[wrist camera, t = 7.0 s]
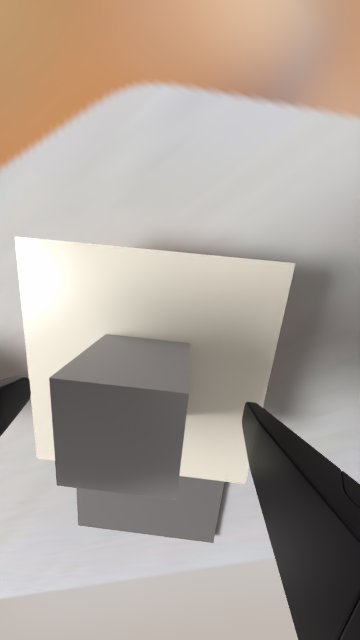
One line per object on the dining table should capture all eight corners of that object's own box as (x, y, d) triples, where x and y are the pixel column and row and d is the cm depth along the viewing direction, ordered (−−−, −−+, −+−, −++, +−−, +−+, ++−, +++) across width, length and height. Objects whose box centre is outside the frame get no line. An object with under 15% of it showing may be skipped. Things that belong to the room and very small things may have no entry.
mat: (233, 422, 17) (234, 428, 16) (212, 534, 20) (213, 542, 19) (77, 404, 17) (73, 409, 16) (81, 517, 20) (78, 525, 20)
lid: (286, 263, 9) (384, 258, 5) (242, 470, 12) (273, 594, 8) (29, 239, 10) (-125, 211, 5) (46, 446, 13) (-39, 551, 8)
